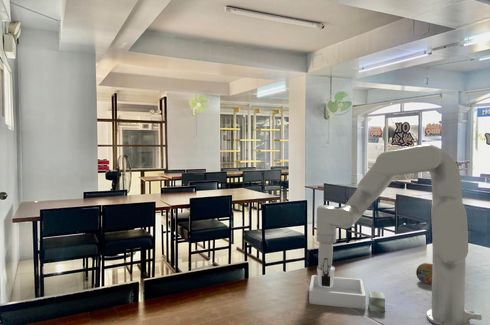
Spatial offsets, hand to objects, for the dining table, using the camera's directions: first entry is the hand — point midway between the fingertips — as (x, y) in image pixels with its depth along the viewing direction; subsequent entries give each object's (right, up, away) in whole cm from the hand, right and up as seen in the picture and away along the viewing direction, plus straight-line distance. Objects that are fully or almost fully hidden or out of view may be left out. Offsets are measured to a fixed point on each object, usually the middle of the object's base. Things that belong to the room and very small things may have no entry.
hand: (325, 282), depth 136 cm
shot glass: (0, -1, 0) cm, 1 cm away
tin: (+49, -5, +11) cm, 51 cm away
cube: (+16, -6, -10) cm, 20 cm away
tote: (+4, -6, -1) cm, 7 cm away
